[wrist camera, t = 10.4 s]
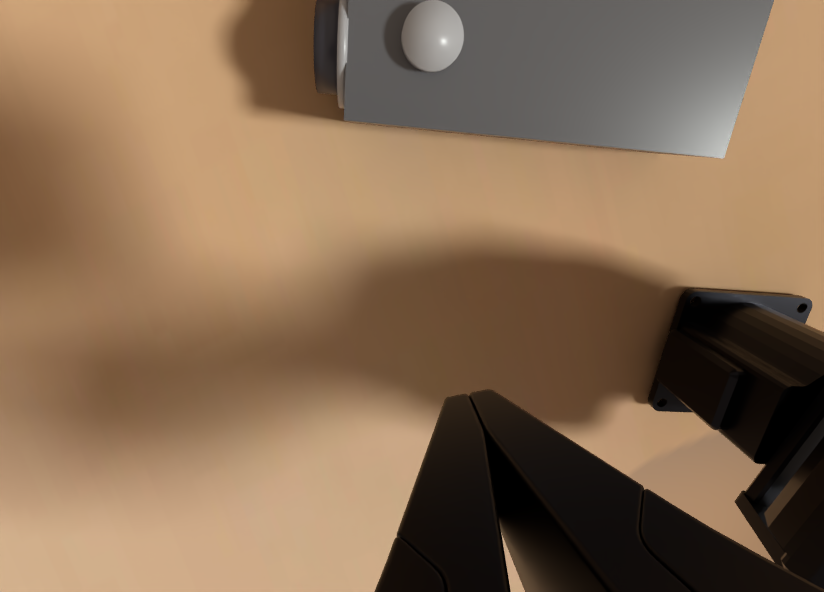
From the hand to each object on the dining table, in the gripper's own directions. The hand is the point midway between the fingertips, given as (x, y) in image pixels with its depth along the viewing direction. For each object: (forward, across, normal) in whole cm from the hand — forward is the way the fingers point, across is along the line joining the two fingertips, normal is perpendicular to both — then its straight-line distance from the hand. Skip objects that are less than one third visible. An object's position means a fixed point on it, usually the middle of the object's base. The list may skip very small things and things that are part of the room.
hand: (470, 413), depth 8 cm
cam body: (+12, -6, -8) cm, 15 cm away
